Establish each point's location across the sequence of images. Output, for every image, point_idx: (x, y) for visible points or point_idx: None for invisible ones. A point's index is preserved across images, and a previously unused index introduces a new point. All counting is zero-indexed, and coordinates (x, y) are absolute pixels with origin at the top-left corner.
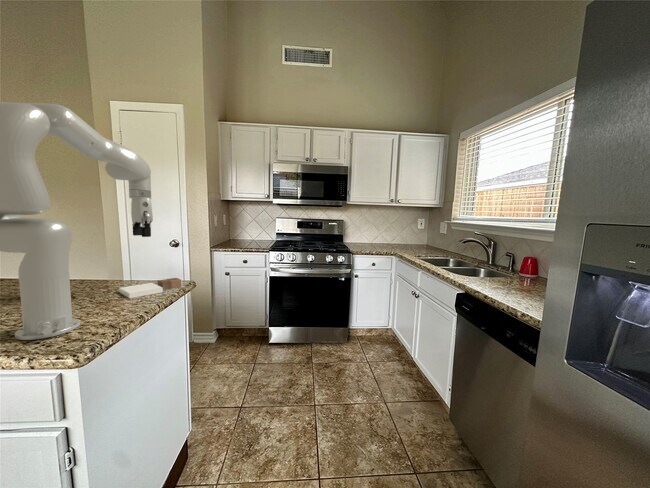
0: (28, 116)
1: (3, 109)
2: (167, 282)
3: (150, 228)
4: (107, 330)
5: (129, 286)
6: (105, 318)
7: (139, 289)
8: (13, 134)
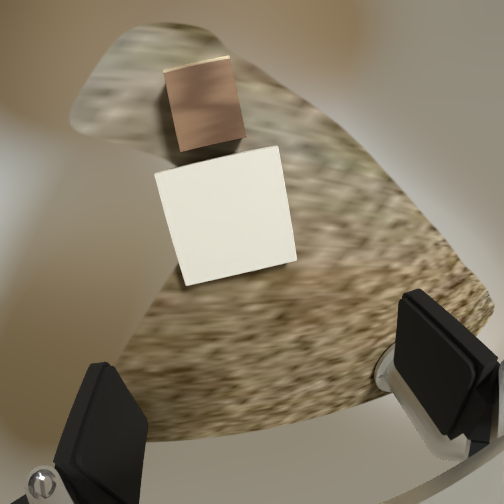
0: None
1: None
2: (241, 118)
3: (483, 348)
4: (465, 290)
5: (180, 255)
6: None
7: (258, 227)
8: None
